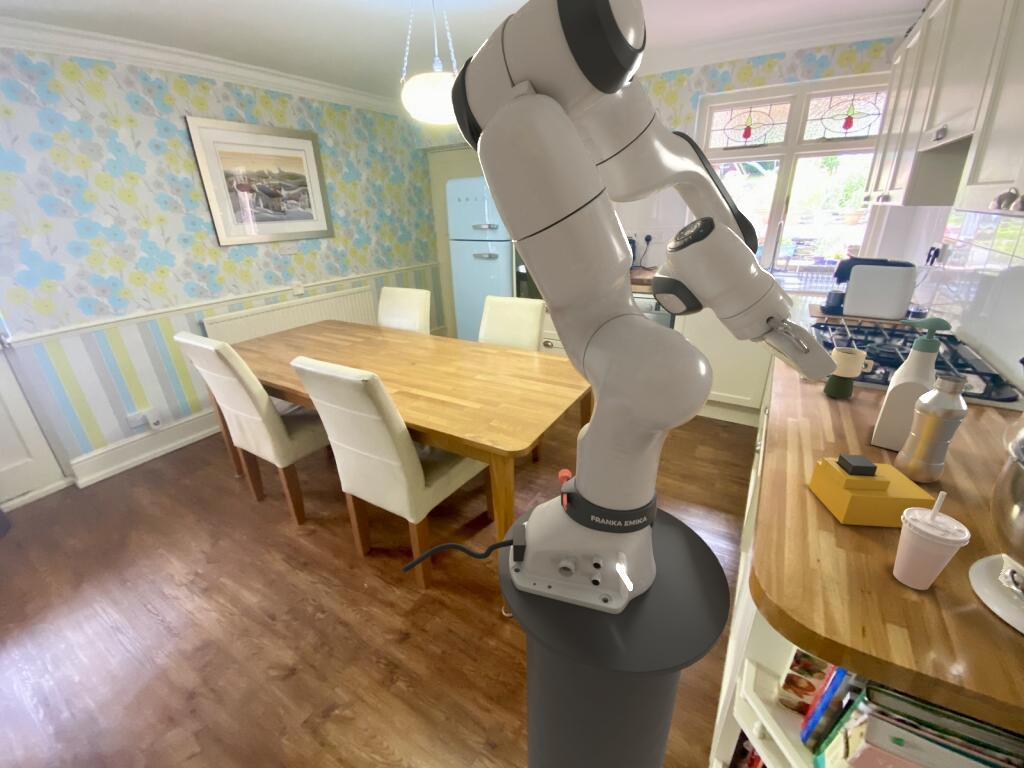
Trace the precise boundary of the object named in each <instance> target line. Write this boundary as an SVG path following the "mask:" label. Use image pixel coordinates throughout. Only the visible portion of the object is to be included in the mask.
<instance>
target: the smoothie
mask: <svg viewBox="0 0 1024 768" xmlns="http://www.w3.org/2000/svg"><path fill="white" fill-rule="evenodd" d="M947 494H948V493H947V492H945V491H942V490H941V491H940V492H939V494H938V497H937V499H936V501H935V503H934V506H933V508H932V510H929V509H925V508H908V509H906V510H905V511H904V513H903V515H902V516H901V520H902V522H903V526H902V528H901V531H900V532H901V533H900V536H899V540H898V546H897V550H896V555H895V559H894V566H893V570H892V575H893V576H894V577H895V578H896V580H898V581H899V582H900V583H902V584H903V585H905V586H907V587H908V588H911V589H915V590H918V591H926V590H928V589H930V587H931V586H932V585H933V583H934V582H935V580H936V579H937V578H938V577H939V575H940V574H941V572H943V570H944V569H945V568H946V566H947V565H948V564H949V562H950V561H951V560H952V558H953V557H954V556H955V555H956V554H957V552H959V550H960V548H961V547H966V546H967V545H968V544H969V543H970V539H971V532H970V531H969V529H968V528H967V527H966V526H965V525H964V524H962V522H960V521H958V520H956V519H955V518H953V517H951V516H949V515H947V514H945V513H942V512H939V511H940V509H941V507H942V505H943V503H944V501H945V498H946V496H947Z"/></svg>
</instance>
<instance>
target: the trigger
mask: <svg viewBox="0 0 1024 768" xmlns="http://www.w3.org/2000/svg"><path fill="white" fill-rule="evenodd" d="M838 458H839V459H838V462H837V464H838V465H839V466H840V467H841V468H842V469H843V470H844V471H846V472H847V473H848V474H849V475H854V476H874V475H875V472H876V469H877V466H876V465H875V464H873V463H874V462H872V461H871V460H869V459H868V458H867V457H866V456H865V455H864V454H847V453H840V454H839V456H838Z"/></svg>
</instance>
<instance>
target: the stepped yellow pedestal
mask: <svg viewBox="0 0 1024 768" xmlns="http://www.w3.org/2000/svg"><path fill="white" fill-rule="evenodd" d="M838 459H839V457H822V460H816V461H815V464H814V467H813V472H812V475H811V478H810V482H809V485H808V489H810V490H811V491H812V493H813V494H814V495H815V496H816V497H817V499H819V501H820V502H822V504H823V506H825V508H827V510H829V512H830V513H831V514H832V515H833V516H834V517H835V518H836V519H837V520H838V522H839V523H840V524H841V525H851V526H853V525H854V526H867V527H868V526H870V527H886V528H901V529H902V526H903V522H902V520H901V516H902V515H903V513H904V511H905V510H906V509H908V508H925V509H929V510H933V508H934V505H935V503H936V501H937V499H936V498H935V497H933V496H932V495H931V494H929V493H928V492H927V491H925V490H924V489H923V488H922V487H920V486H919V485H918V484H916V483H915V481H913V480H910V479H909V478H907V477H906V476H905V475H903V474H902V473H901V472H899V471H898V470H897V469H896V468H895V467H894V465H892V464H891V463H877V462H876V463H875V462H872V463H873V464H875V465H876V466H877V469H876V472H875V475H874V476H854V475H849V474H848V473H847V472H846V471H844V470H843V469H842V468H841V467H840V466H839V465H838V464H837V462H838Z"/></svg>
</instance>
